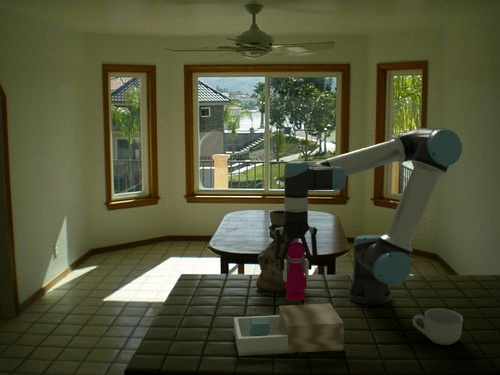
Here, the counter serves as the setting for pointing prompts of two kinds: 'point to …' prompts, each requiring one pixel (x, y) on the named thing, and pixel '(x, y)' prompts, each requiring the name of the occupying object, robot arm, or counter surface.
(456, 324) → the teacup
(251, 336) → the tile
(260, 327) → the tile
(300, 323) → the light wood block
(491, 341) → the counter surface
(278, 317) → the tray
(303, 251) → the pepper mill
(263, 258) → the ceramic vessel
